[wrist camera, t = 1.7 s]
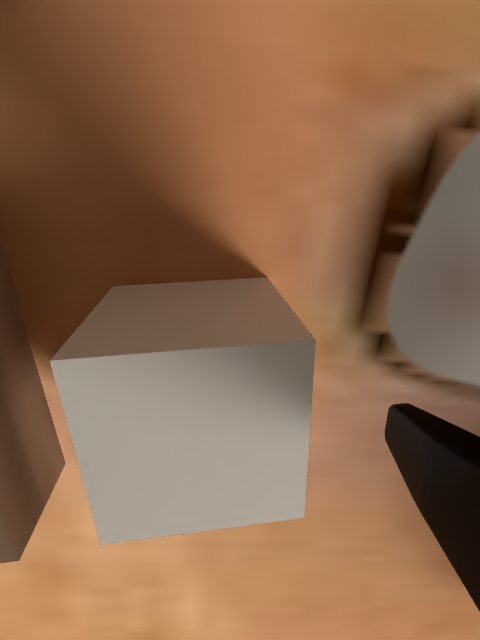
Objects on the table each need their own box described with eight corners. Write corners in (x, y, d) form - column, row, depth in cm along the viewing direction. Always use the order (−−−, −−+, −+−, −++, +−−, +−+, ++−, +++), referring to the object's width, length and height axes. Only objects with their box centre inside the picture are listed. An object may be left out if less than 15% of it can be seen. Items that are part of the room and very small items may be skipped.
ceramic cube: (267, 276, 11) (315, 339, 7) (266, 400, 13) (304, 517, 8) (113, 285, 11) (49, 360, 6) (136, 413, 13) (100, 544, 8)
